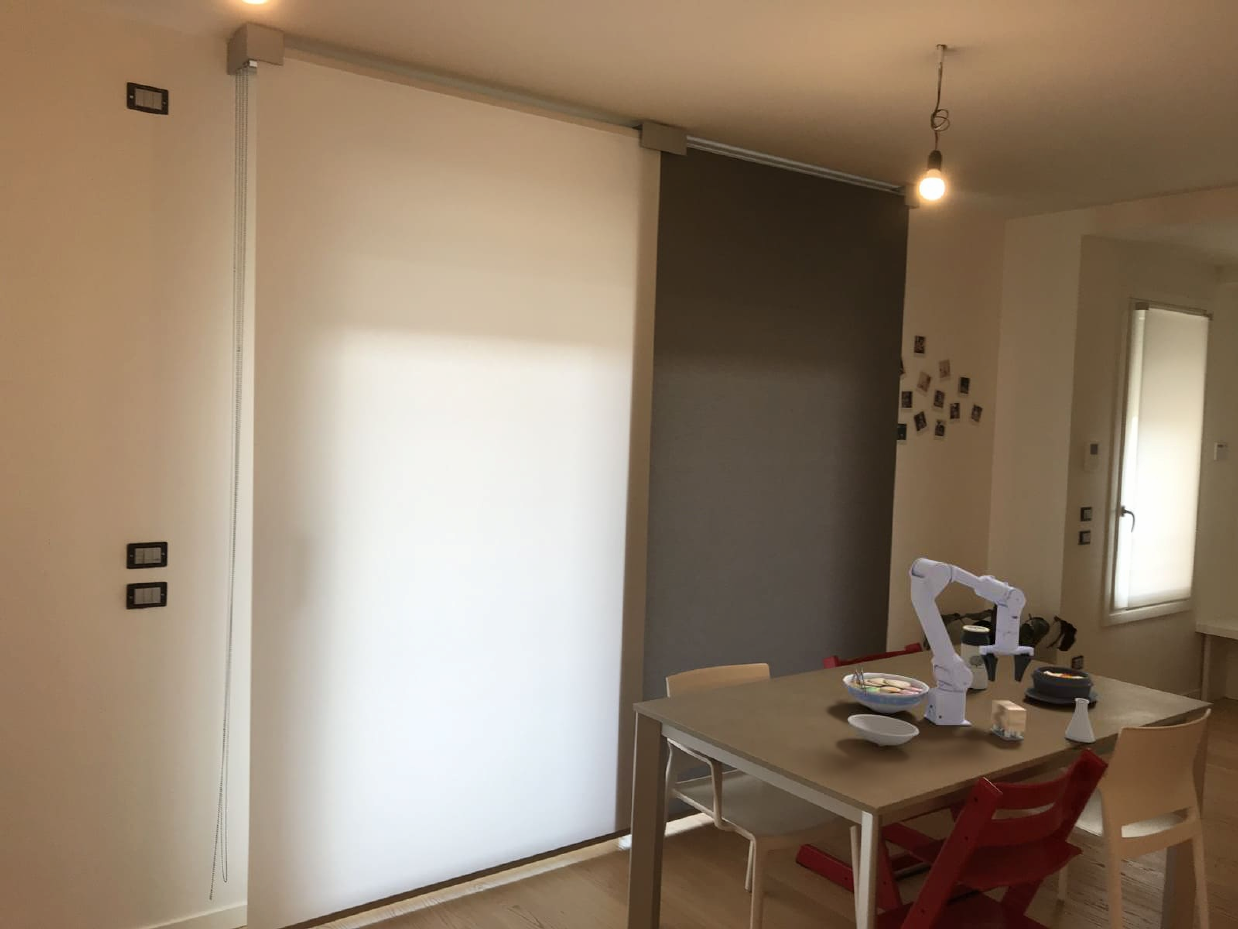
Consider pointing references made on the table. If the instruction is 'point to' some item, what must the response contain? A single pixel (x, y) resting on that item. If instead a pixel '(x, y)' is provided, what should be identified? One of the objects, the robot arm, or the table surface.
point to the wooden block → (1008, 715)
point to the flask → (1080, 724)
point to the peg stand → (1006, 733)
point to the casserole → (1060, 685)
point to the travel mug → (975, 654)
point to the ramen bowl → (885, 691)
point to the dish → (883, 729)
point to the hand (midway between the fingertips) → (1004, 681)
